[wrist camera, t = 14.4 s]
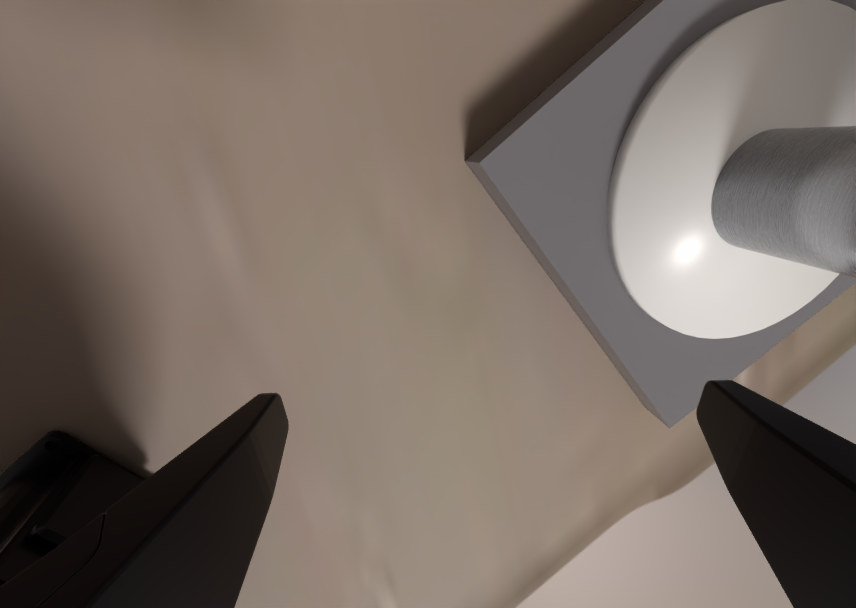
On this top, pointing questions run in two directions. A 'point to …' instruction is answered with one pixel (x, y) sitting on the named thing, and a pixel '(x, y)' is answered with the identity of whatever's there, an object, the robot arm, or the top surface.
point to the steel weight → (792, 196)
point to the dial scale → (673, 183)
